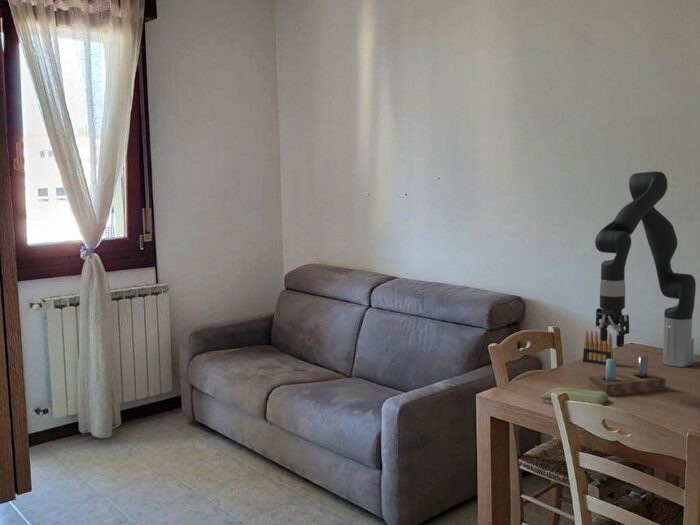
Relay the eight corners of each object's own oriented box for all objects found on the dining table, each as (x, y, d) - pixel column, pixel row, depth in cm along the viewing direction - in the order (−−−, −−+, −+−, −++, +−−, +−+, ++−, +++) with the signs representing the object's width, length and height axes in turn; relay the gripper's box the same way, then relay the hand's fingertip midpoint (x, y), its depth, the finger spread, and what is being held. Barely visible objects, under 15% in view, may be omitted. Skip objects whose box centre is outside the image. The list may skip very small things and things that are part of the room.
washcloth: (553, 393, 232) (553, 383, 232) (609, 401, 222) (609, 391, 222) (539, 403, 221) (539, 393, 221) (597, 413, 211) (597, 402, 211)
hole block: (645, 381, 241) (645, 371, 241) (665, 389, 232) (665, 379, 231) (588, 387, 236) (588, 376, 236) (606, 395, 226) (606, 385, 226)
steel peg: (643, 385, 237) (644, 355, 236) (649, 387, 234) (650, 357, 233) (635, 386, 236) (636, 356, 235) (641, 388, 234) (642, 358, 232)
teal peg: (611, 388, 234) (612, 358, 233) (617, 391, 231) (617, 360, 230) (603, 389, 233) (604, 359, 232) (609, 392, 230) (609, 361, 229)
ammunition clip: (613, 365, 263) (613, 332, 262) (611, 366, 262) (611, 333, 261) (584, 360, 270) (585, 329, 269) (582, 361, 269) (583, 330, 268)
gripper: (637, 296, 223) (636, 347, 225) (609, 289, 236) (608, 338, 238) (615, 297, 221) (615, 349, 223) (589, 291, 235) (588, 339, 236)
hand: (611, 343), depth 231 cm, fingers open, 8 cm apart
